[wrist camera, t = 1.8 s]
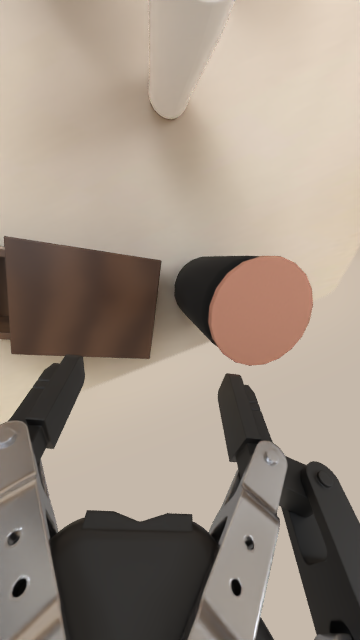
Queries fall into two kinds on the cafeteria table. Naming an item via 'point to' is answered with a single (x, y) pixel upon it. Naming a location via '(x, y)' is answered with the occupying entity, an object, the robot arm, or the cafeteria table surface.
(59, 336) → the cabinet
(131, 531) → the robot arm
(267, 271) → the coffee jar
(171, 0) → the white cup
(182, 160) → the cafeteria table surface
